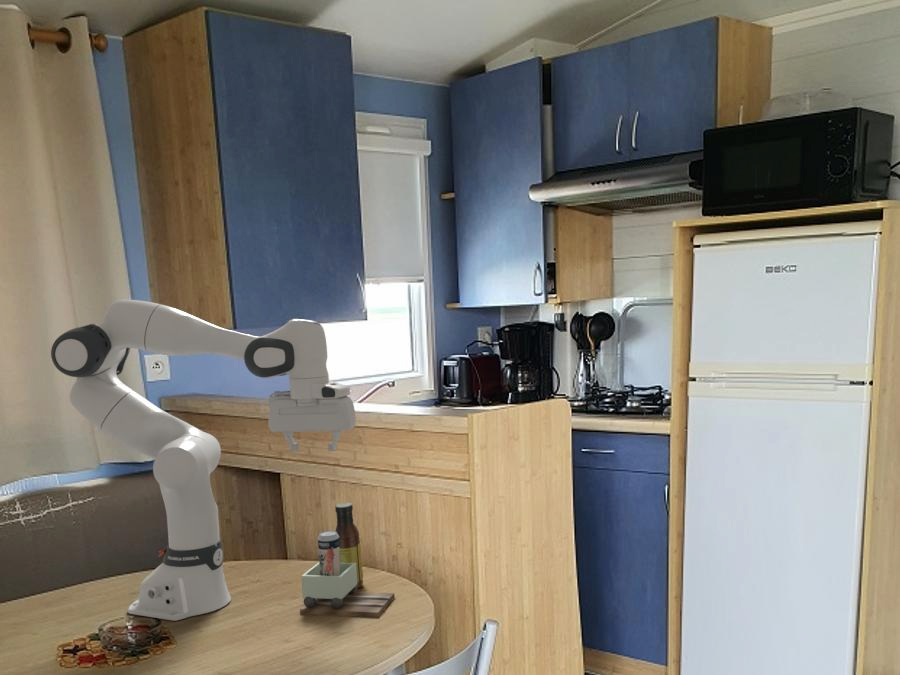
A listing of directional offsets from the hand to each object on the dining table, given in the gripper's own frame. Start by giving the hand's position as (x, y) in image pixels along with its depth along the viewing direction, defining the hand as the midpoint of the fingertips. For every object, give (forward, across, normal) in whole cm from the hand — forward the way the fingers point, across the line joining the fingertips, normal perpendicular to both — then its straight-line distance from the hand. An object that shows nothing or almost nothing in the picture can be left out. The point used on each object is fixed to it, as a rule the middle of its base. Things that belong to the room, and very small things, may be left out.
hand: (313, 450), depth 168 cm
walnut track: (+34, +7, -3) cm, 35 cm away
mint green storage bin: (+33, +3, -3) cm, 33 cm away
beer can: (+30, +4, -3) cm, 31 cm away
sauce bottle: (+34, +4, +8) cm, 35 cm away
